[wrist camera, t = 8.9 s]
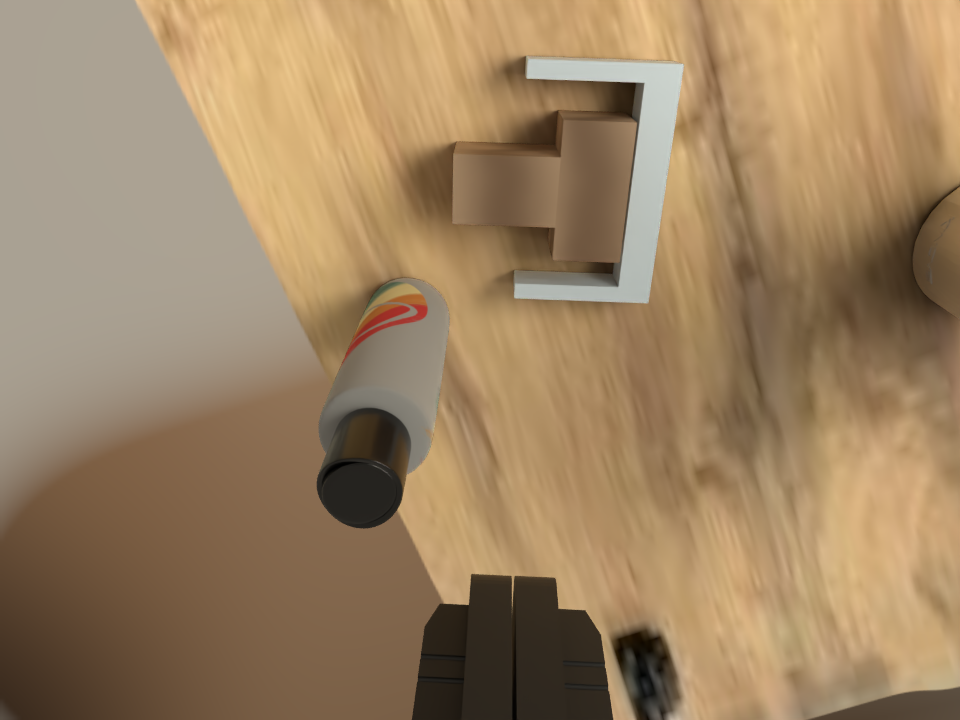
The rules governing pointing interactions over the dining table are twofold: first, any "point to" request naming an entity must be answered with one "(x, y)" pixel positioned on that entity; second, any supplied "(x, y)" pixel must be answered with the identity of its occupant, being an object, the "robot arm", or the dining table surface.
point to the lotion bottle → (383, 403)
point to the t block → (553, 184)
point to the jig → (646, 181)
